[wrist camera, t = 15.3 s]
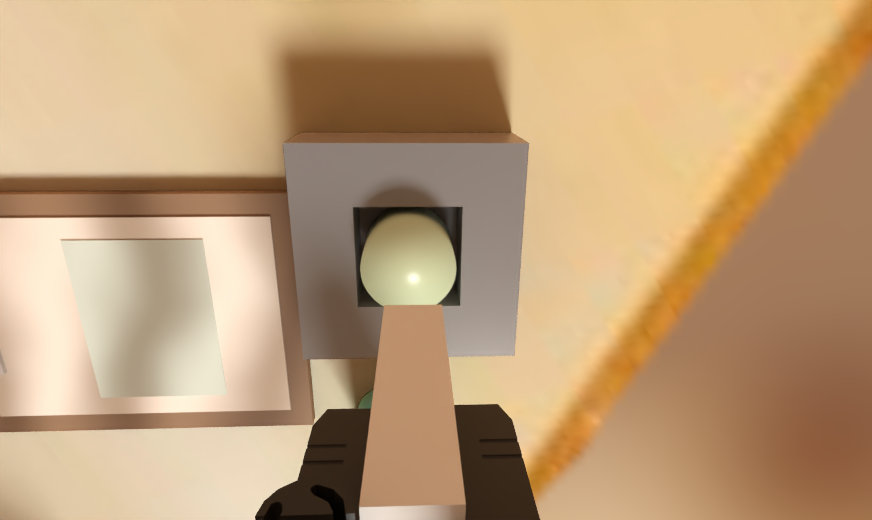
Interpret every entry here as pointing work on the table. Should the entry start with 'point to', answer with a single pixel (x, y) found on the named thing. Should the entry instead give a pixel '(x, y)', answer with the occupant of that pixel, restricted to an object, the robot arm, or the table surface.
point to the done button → (408, 258)
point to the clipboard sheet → (149, 311)
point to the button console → (406, 187)
